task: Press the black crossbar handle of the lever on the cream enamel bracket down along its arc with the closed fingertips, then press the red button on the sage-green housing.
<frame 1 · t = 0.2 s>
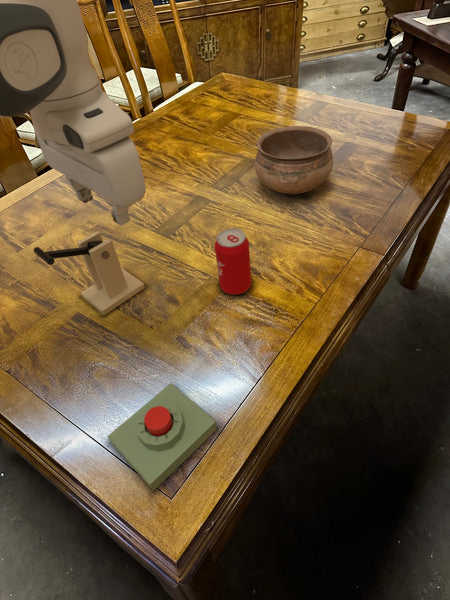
hand: (103, 210, 60), 25 cm above the table, tool pointing down, fingers open, 8 cm apart
press lever: (74, 252, 73), point 13 cm above the table, hinge at 25.0°
button housing: (164, 436, 61), on the table
lever bracket: (113, 292, 84), on the table
cooking pot: (292, 188, 107), on the table
beverage can: (235, 286, 83), on the table
start button: (158, 420, 58), point 4 cm above the table, slide at 0.1 cm
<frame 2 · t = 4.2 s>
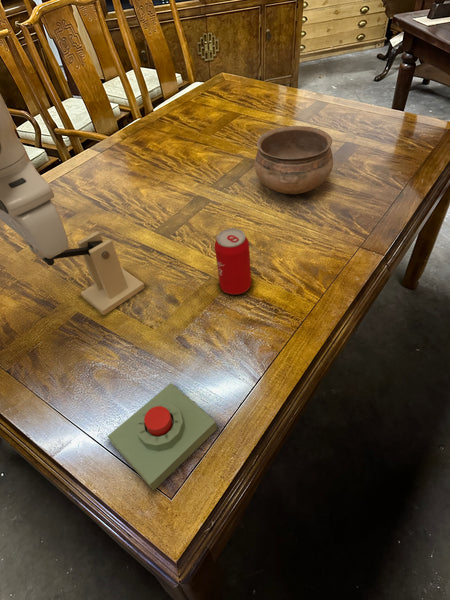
hand: (41, 254, 69), 16 cm above the table, tool pointing down, fingers closed
press lever: (73, 252, 73), point 13 cm above the table, hinge at 24.3°, touching gripper
everything else where it was.
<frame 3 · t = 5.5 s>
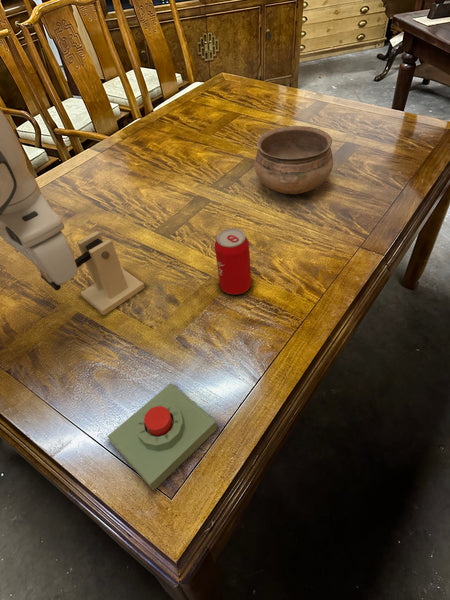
hand: (50, 277, 72), 11 cm above the table, tool pointing down, fingers closed, pressing on press lever
press lever: (76, 263, 75), point 11 cm above the table, hinge at -5.0°, touching gripper
everything else where it was.
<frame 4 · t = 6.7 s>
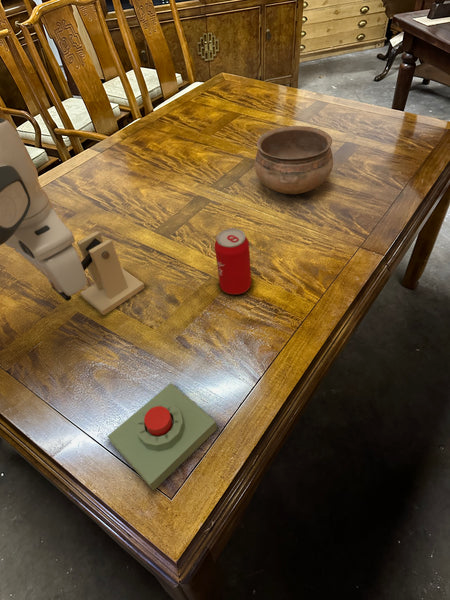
hand: (59, 287, 75), 8 cm above the table, tool pointing down, fingers closed, pressing on press lever
press lever: (80, 268, 76), point 9 cm above the table, hinge at -23.9°, touching gripper
everything else where it was.
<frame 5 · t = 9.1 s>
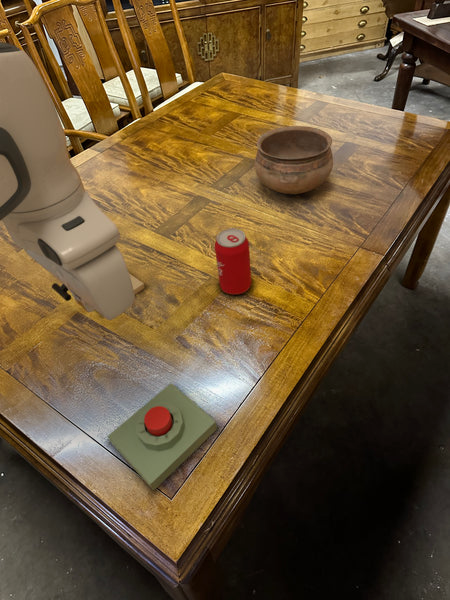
hand: (88, 305, 54), 19 cm above the table, tool pointing down, fingers closed
press lever: (80, 268, 76), point 9 cm above the table, hinge at -23.9°
everything else where it was.
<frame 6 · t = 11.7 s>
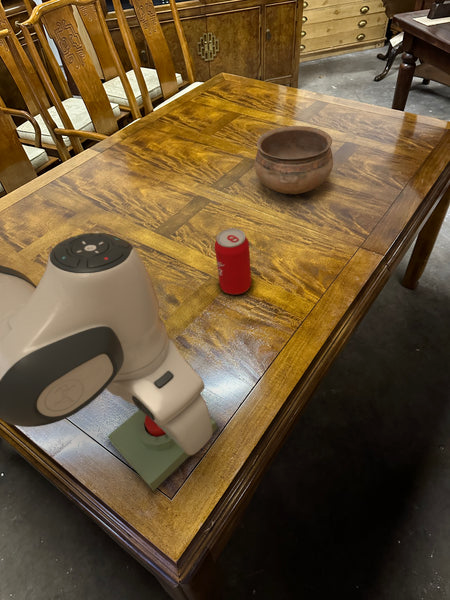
hand: (158, 418, 58), 5 cm above the table, tool pointing down, fingers closed, pressing on start button
start button: (158, 421, 58), point 4 cm above the table, slide at -0.2 cm, touching gripper
everything else where it was.
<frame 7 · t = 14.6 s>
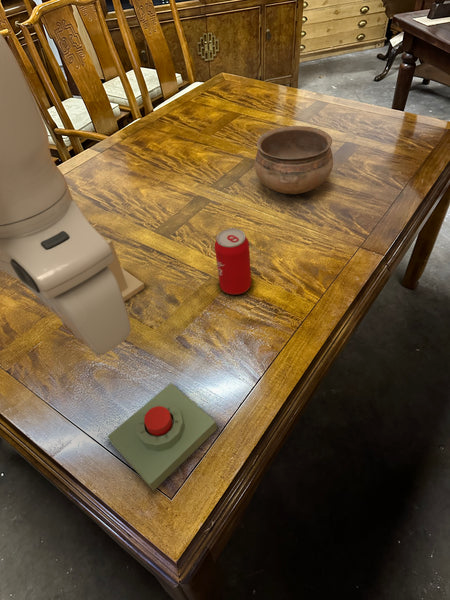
hand: (78, 330, 46), 23 cm above the table, tool pointing down, fingers closed
start button: (158, 420, 58), point 4 cm above the table, slide at 0.1 cm
everything else where it was.
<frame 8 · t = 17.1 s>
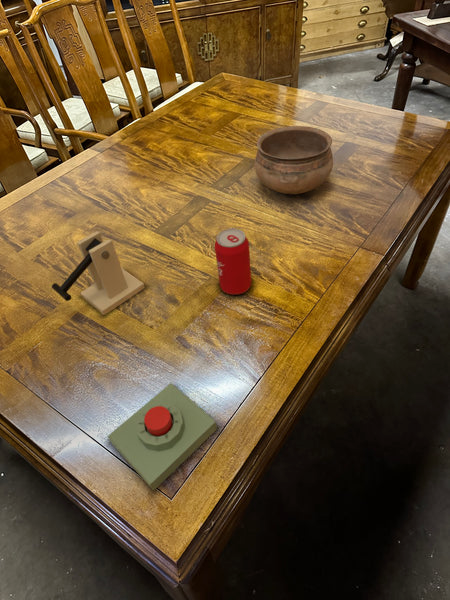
nothing on the table moved.
at the end: press lever at -24° (first picture: +25°); start button pushed in 1.0 cm at the most during the clip, back to where it started at the end; start button slide at 0.1 cm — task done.
